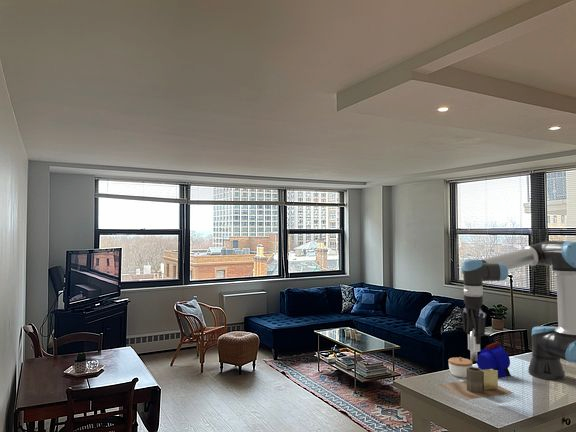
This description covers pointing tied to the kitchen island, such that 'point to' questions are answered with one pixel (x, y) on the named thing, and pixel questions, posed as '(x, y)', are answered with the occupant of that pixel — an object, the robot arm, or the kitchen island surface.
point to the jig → (474, 386)
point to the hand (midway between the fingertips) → (474, 350)
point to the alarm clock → (494, 359)
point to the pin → (472, 348)
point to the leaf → (490, 380)
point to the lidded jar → (459, 366)
